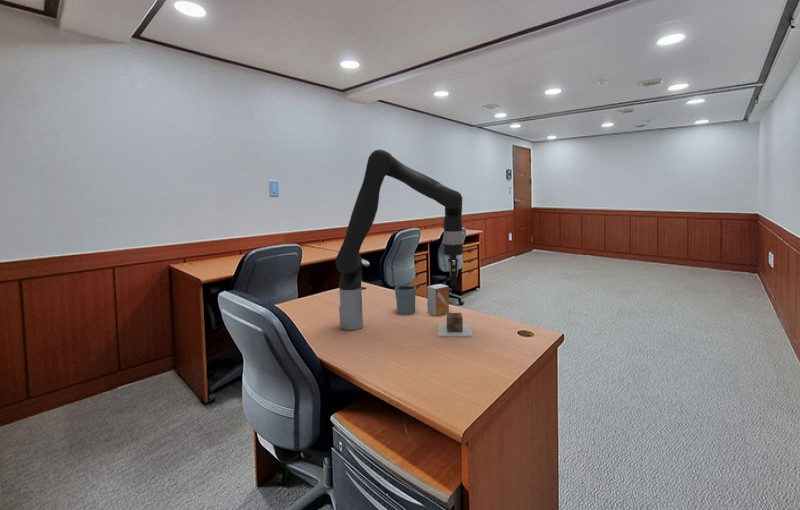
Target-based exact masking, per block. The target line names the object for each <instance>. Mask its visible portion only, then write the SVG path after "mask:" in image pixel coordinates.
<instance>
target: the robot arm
mask: <svg viewBox="0 0 800 510" xmlns="http://www.w3.org/2000/svg"><path fill="white" fill-rule="evenodd" d="M386 176H387V177H390V178H393V179H396V180H397V181H400V182H402V183H403V184H405V185H406V186H408V187H410V188H411V189H412V190H414V191H416V192H418V193H420V194H421V195H423V196H425V197H427V198H429V199H431V200H434V201H435V202H437V203H438V204H440V205H441V206H443V207H444V219H443V238H442V239H443V242H442V244H443V245H442V249H443V250H442V251H443V255H444V256H448V258H447V267H448V271H449V281H450V286H453V287H454V286H457V280H458V279H457V278H458V277H457V276H458V271H459V258H458V256H460V255H461V256H462V255H463V253H464V252H463V250H464V248H463V247H464V246H463V245H464V243H463V242H464V241H463V239H464V237H463V219H462V215H463V214H462V213H463V196H462V194H461V193H460V192H459V191H456V190H454V189H453V188H451V187H450V188H449V187H448V186H446V185H444V184H442V183H441V182H439V181H438V180H436V179H435V178H431V177H430V176H427V175H426V174H424V173H422V172H420V171H418V170H415V169H413V168H410V167H409V166H407V165H405V164H404V163H402V162H401V161H399V159H397V158H396V157H394V156H393V155H392V154H391V153H390V152H388V151H386V150H384V149H380V148H379V149H376V150H373V151H372V152H371V153H370V154H369V157H368V158H367V163H366V167H365V172H364V177H363V180H362V184H361V185H360V186H361V187H360V189H359V192H358V194H357V198H356V200H355V202H354V206H353V209H352V211H351V215H350V220H349V222H348V224H347V225H348V226H347V229H346V231H345V232H346V233H345V237H344V239H343V242H342V244H341V246H340V248H339V251H338V253H337V256H336V258H335V266H336V269H337V271H338V272H339V273H340V279H339V282H338V287H339V305H340V306H339V307H338V310H339V328H340V330H344V331H355V330H357V331H358V330H360V329H361V328H363V327H364V317H363V316H364V315H363V295H362V293H363V292H362V291H363V290H362V281H363V260H362V256H361V254H360V250H361V246H362V245H363V242H364V240H365V239H366V237H367V235H368V233H369V232H370V230H371V228H372V226H373V224H374V221H375V218H376V217H377V216H376V215H377V212H378V209H379V202H380V192H381V188H382V185H383V182H384V179H385V178H386Z"/></svg>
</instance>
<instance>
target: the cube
mask: <svg viewBox="0 0 800 510" xmlns="http://www.w3.org/2000/svg"><path fill="white" fill-rule="evenodd" d="M446 324H447V332H463V324H464V323H463V313H461V312H449V313H446Z"/></svg>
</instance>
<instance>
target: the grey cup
mask: <svg viewBox="0 0 800 510" xmlns="http://www.w3.org/2000/svg"><path fill="white" fill-rule="evenodd" d="M394 291H395V292H394V293H395V300H396V301H395V302H396V312H397V314H398V315H402V314H403V315H405V316H408V315H413V314H415V313H416V294H417V286H415V285H411V284H404V285H403V284H402V285H398V286H395V287H394Z"/></svg>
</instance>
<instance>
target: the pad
mask: <svg viewBox="0 0 800 510" xmlns="http://www.w3.org/2000/svg"><path fill="white" fill-rule="evenodd" d="M437 328H438V331H437V333H438V337H439V338H473V333H472V329H471V325H470V323H463V332H447V323H438V324H437Z"/></svg>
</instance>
